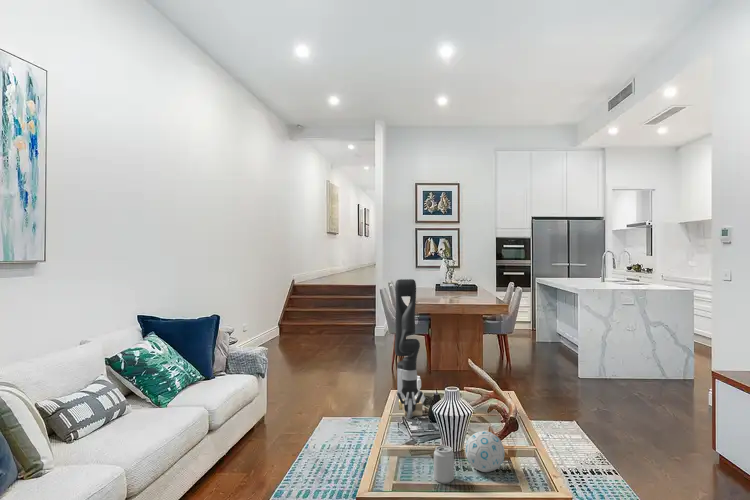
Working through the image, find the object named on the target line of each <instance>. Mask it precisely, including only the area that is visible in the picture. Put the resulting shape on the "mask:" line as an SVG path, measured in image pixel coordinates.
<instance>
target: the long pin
mask: <svg viewBox="0 0 750 500" xmlns="http://www.w3.org/2000/svg"><path fill="white" fill-rule="evenodd" d="M407 409H408V412H407V416H406V418H407V419H413V418H414V416H413V399H412V398H408V401H407ZM412 417H413V418H412Z"/></svg>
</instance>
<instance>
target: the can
mask: <svg viewBox="0 0 750 500" xmlns="http://www.w3.org/2000/svg"><path fill="white" fill-rule="evenodd" d="M433 478H434V480H436V481H437V482H438V483H440V484H450V483H451V482H452V481H453V480H454V479H455V453H454V451H453V449H452V447H451V446H448V445H438V446H436V447H435V449H434V452H433Z"/></svg>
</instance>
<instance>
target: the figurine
mask: <svg viewBox="0 0 750 500" xmlns="http://www.w3.org/2000/svg"><path fill="white" fill-rule="evenodd" d="M417 389H418V391H421V389H422V379H421V376H420V375H417ZM417 397H418V392H417V394H416V395H415V399H417ZM425 400H426V396H424V393H423V394H422V397H421V399H420V401H421V402H422V405H423V403H424V402H425Z"/></svg>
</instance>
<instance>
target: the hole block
mask: <svg viewBox="0 0 750 500" xmlns="http://www.w3.org/2000/svg"><path fill="white" fill-rule="evenodd" d="M402 400H403V401H404V399H402ZM415 400H416V399H415ZM401 411H402V412H403V414H404V416H405V417H407V412H406V411H405V410H404V404H402V410H401ZM414 416H415V417H417V416H423V404H422V402H421V401H419V403H417V404H416V410H415V411H414V412H413V417H414Z"/></svg>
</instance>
